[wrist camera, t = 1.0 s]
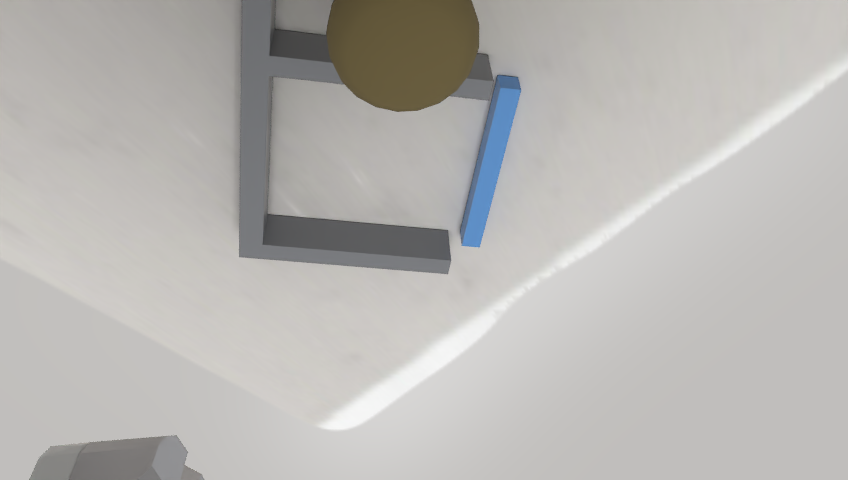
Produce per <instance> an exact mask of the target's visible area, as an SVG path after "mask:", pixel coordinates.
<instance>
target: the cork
mask: <svg viewBox="0 0 848 480" xmlns="http://www.w3.org/2000/svg"><path fill="white" fill-rule="evenodd" d="M326 35H327V43H328V51H329V56H330V59H331V61H332V63H333V65H334V67H335V69H336V71H337V73H338V75H339V77H340V79H341V81H342V82H343V83H344V84H345V85H346V86H347V87H348V88H349V89H350V90H351V91H352V92H353V93H354V94H355V95H356V96H357V97H358V98H360V99H362V100H364V101H366V102H368V103H370V104H371V105H373V106H375V107H379V108H383V109H388V110H392V111H397V112H401V111H418V110H421V109H424V108H427V107H429V106H432V105H435V104H438V103H440V102H441V101H443V100H444V99H446V98H447V97H448V96H450V95H451V94H453V93H454V92H456V91H457V90H458V88H459V87H460V86H461V85H462V83H463V82H464V81H465V79H466V78H467V77H468V76H469V74H470V72H471V69H472V66H473V63H474V61H475V58H476V55H477V52H478V49H479V22H478V18H477V15H476V12H475V9H474V7H473V4H472V1H471V0H334V2H333V3H332V7H331V11H330V16H329V20H328V25H327V32H326Z"/></svg>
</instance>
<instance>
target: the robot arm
mask: <svg viewBox="0 0 848 480" xmlns="http://www.w3.org/2000/svg"><path fill="white" fill-rule="evenodd" d="M187 453H188V452H187V450H186V448H185V447H184V446H183V444H182V443H181V441H180V440H179V438H178V437H177V436H176V435H175V436H161V437H149V438H137V439H124V440H112V441H101V442H90V443H79V444H69V445H59V446H51V447H50V448H49V449H48V450H47V451H46V452H45V453H44V454H43V455H42V456H41V457H40V458H39V460H38V462H37V464H36V466H35V468H34V471H33V473H32V475H31V477H30V479H29V480H204V478H203V476H202V474H200V473H198V472H196V471H195V470H193V469H191V468H188V467H187V466H185V465H184V464H185V460H186V457H187Z"/></svg>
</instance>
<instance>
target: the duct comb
mask: <svg viewBox="0 0 848 480" xmlns="http://www.w3.org/2000/svg"><path fill="white" fill-rule="evenodd" d="M275 8H276V0H242V35H241V129H240V223H239V257H245V258H257V259H269V260H282V261H294V262H306V263H318V264H331V265H343V266H355V267H367V268H380V269H392V270H404V271H416V272H429V273H441V274H448V271H449V267H450V263H451V255H450V246H449V237H448V231H446V230H435V229H424V228H413V227H401V226H390V225H379V224H368V223H356V222H345V221H334V220H323V219H311V218H300V217H289V216H278V215H267V212H268V187H269V161H270V136H271V110H272V84H273V76H274V77H283V78H292V79H301V80H310V81H319V82H327V83H336V84H344V83H343V82H342V81H341V79H340V77H339V75H338V73H337V71H336V69H335V67H334V65H333V63H332V61H331V59H330V56H329V51H328V43H327V36H326V35H318V34H310V33H301V32H293V31H285V30H276V29H275ZM493 82H494V81H493V76H492V72H491V67H490V63H489V58H488V55H485V54H477V55H476V58H475V61H474V63H473V66H472V69H471V72H470V74H469V76H468V77H467V78H466V79H465V81H464V82H463V83H462V85H461V86H460V87H459V88H458V90H457V91H456V92H454V93H453V94H451V95H450V96H453V97H462V98H471V99H480V100H489V99H490V95H491V90H492V86H493ZM520 93H521V88H520V84H519V80H518V77H510V76H502V75H498V76H497V80H496V84H495V88H494V92H493V97H492V101H491V105H490V109H489V113H488V117H487V122H486V126H485V130H484V134H483V138H482V142H481V147H480V151H479V155H478V159H477V163H476V167H475V172H474V176H473V180H472V184H471V188H470V192H469V197H468V201H467V205H466V209H465V213H464V217H463V222H462V226H461V230H460V235H461V243H462V246H470V247H480V244H481V240H482V236H483V232H484V229H485V225H486V221H487V217H488V214H489V210H490V206H491V202H492V198H493V195H494V191H495V187H496V183H497V179H498V176H499V172H500V168H501V164H502V161H503V157H504V153H505V149H506V145H507V142H508V138H509V134H510V130H511V127H512V123H513V119H514V115H515V111H516V108H517V104H518V100H519V96H520Z"/></svg>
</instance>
